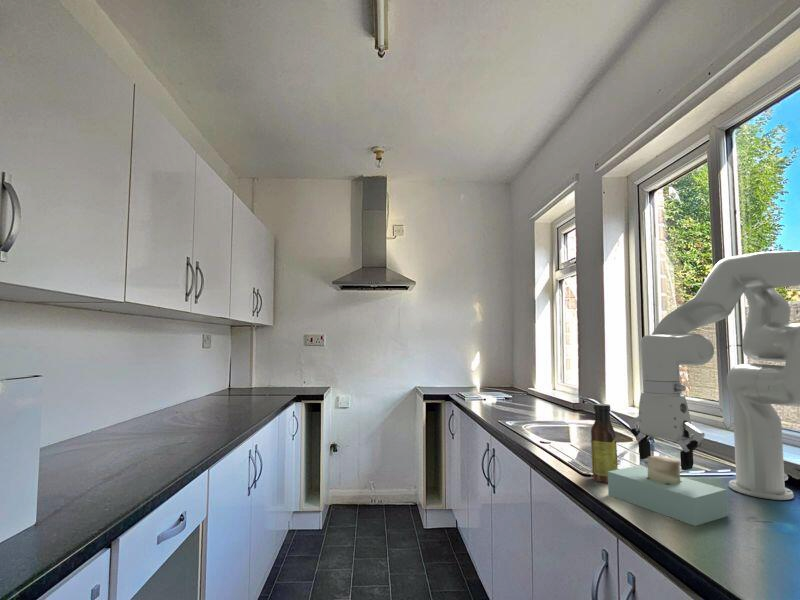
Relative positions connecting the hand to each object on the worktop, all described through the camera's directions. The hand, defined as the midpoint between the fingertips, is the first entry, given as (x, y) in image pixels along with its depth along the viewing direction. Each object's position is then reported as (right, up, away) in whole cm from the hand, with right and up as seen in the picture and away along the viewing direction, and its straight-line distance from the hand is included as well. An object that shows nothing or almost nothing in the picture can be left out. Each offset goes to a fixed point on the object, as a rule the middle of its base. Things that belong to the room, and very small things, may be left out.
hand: (665, 463), depth 103 cm
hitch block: (-1, -9, -1) cm, 9 cm away
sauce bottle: (-7, -11, +16) cm, 20 cm away
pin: (-1, -9, -1) cm, 9 cm away
